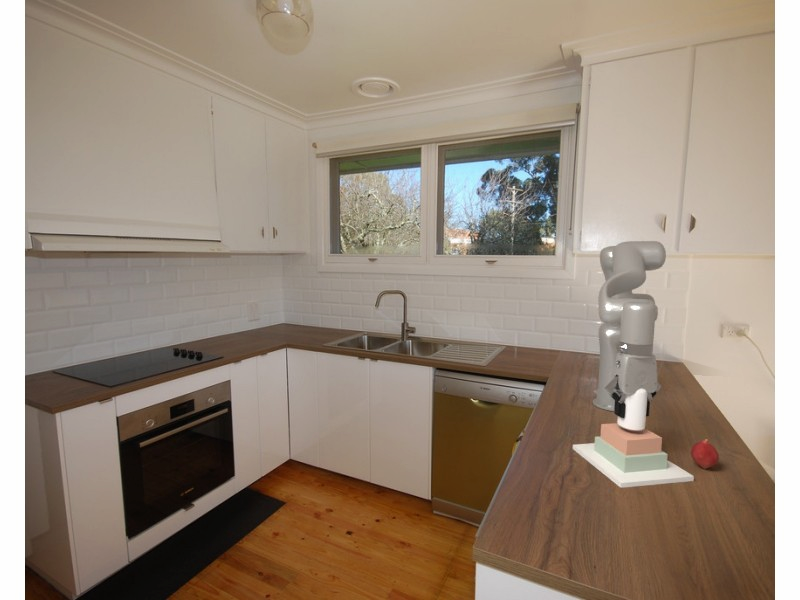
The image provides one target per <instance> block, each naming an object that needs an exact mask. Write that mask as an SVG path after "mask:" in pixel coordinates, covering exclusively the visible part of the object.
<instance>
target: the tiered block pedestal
mask: <svg viewBox="0 0 800 600" xmlns="http://www.w3.org/2000/svg"><path fill="white" fill-rule="evenodd" d="M662 444H663V437H661V436H659V435H657V434H656V433H655V432H652V431H651V430H649V429H647V428H645V429H643V430H642V431H631V430H627V429H624V428H622V427H620V426H619V424H618V423H617V422H615V423H602V424H601V425H600V436H594V442H591V443H580V444H572V450H573V451H575V452H576V453H577V454H579V456H580V457H582V458H583V459H585V461H587V462H588V463H589V464H590V465H592V466H593V467H595V468H596V469H597V470H599V472H600V473H602V474H603V475H604V476H606V477H607V478H608V479H609V480H611V481H612V482H613V483H614V484H616V486H618V487H619V488H621V489H622V488H633V487H642V486H643V487H644V486H655V485H663V484H664V485H665V484H672V483H673V484H676V483H685V482H694V479H695V477H694V475H693V474H691V473H689V472H688V471H686V470H685V469H683V468H681V467H679V466H678V465H676V464H675V463H673V462H671V461H670V460H668V453H666V452H665V451H663V450H662V446H663V445H662Z"/></svg>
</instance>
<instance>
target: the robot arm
mask: <svg viewBox="0 0 800 600" xmlns="http://www.w3.org/2000/svg"><path fill="white" fill-rule="evenodd" d="M666 257H667V253H666V249H665V246H664V244H662V243H661V242H660V241H658V240H657V241H656V240H640V241H639V240H634V241H632V240H631V241H629V240H627V241H623V242H620V243H617V244H616V245H610V246H606V247H603V248H602V249H601V250H600V253H599V263H600V268H601V270H602V273H603V275H604V280H605V282H603V284H602V286H601V288H600V290H599V292H598V298H597V299H598V315H599V319H600V320H601V322H603V323H602V324H601V325H600V326H599V328H598V341H599V365H598V366H599V367H598V368H599V369H598V381H597V382H598V385H597V388H596V389H594V390H593V393H594V394H595V395H596V397H595V398H593V399H592V404H593V406H595V407H597V408H598V409H602V410H605V411H611V412H613V413H614V415H616V416H617V417H618V416H619V417H621V418H624V417H625V406H626V405H625V403H623V402H624V400H625V398H626V396H627V394H635V393H636V391H637V390H639V389H645V390H646V391H647V409H646V417H650V408H651V407H650V406H651V402H652V401H654V400H653V398H655V396H656V395H657V393H658V392H659V391H660V389H662V385H661V384H660V383H659V382H658V364H657V358H656V355H655V354H653V352H654V351H653V350H654V339H655V337H654V336H655V326H656V325H655V323H656V321H657V319H658V316H659V309H658V306H657V305H656V301H655V299H654V297H653V296H652V295H651V294H647V293H634V292H633V290H635V289H638V288H640V287H642V286H643V284H644V283H645V281H646V280H647V273H646V272H648V271H650V272H651V271H656V270H658V269H660V268H662V267H663V266H664V264H665V262H666ZM641 386H642V387H641ZM620 392H621V395H620ZM619 395H620V396H619Z"/></svg>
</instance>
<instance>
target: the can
mask: <svg viewBox="0 0 800 600" xmlns="http://www.w3.org/2000/svg"><path fill="white" fill-rule="evenodd" d="M641 387H642V386H641ZM620 395H621V392H620ZM620 395H619V396H620ZM623 403H625V405H626V406H625V417H624V418H621V417H619V416H617V419H616V423H618V424H619V426H620V427H622V428H624V429H627V430H631V431H642V430H643V429H646V419H647V416H646V409H647V391H646V390H645V389H639V390H637V391H636V393H635V394H627V396H626V398H625V400H624V402H623Z"/></svg>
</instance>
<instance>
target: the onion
mask: <svg viewBox="0 0 800 600" xmlns="http://www.w3.org/2000/svg"><path fill="white" fill-rule="evenodd" d="M690 456H691V458H692V459H693V461H694V462H695V463H696V464H697V465H698V466H700V468H702V469H704V470H706V469H708V468H711V467H713V466H715V465H716V464H718V463H719V460H720V459H719V458H720V455H719V452H718V451H717V449H716V447H715V446H714V445H712V444H711V443H710V442H709V439H703V440H701V441H699V442H698V441H697V442H696V443H694V444H693V445H692V447H691V449H690Z"/></svg>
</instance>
